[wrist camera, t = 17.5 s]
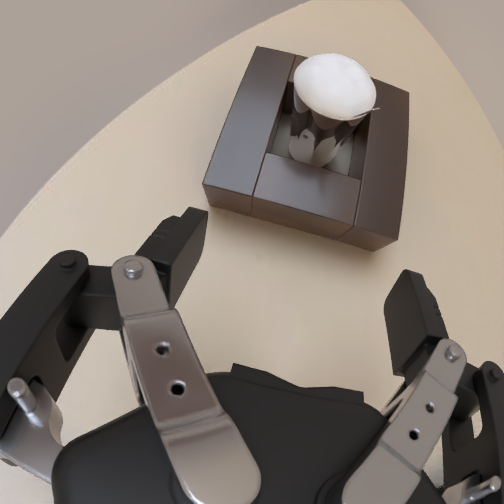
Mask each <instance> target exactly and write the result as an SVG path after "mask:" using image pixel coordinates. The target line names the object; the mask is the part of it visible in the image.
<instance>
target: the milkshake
mask: <svg viewBox="0 0 504 504" xmlns="http://www.w3.org/2000/svg"><path fill="white" fill-rule="evenodd" d="M375 100H376V89H375V86H374V83H373V82H372V80H371V78H370V76H369V75H368V73H367V72H366V71H365V69H364V68H363V67H362V66H361V65H360V64H359V63H357V62H356V61H354V60H353V59H351V58H348V57H346V56H343V55H340V54H336V53H329V54H319V55H315V56H312V57H310V58H308V59H306V60H305V61H303V62H302V63H301V64H300V65H299V66H298V67H297V69H296V71H295V73H294V92H293V112H292V123H291V132H290V142H289V152H290V154H291V156H292V159H293V160H296V161H300V162H303V163H307V164H310V165H314V166H317V167H320V168H322V167H323V166H325V165H326V164H328V163H329V162H330V161H331V160H332V158H333V157H334V156H335V154H336V153H337V152H338V150H339V149H340V148H341V147H342V145H343V144H344V143H345V141H346V140H347V139H348V137H349V136H350V135H351V133H352V132H353V131H354V129H355V128H356V127H357V126H358V125H359V123H360V122H361V121H362V120H363V119H364V117H365V116H366V115H367V114H368V113H369V112H372V111H375V110H378V109H380V108H375V109H372V108H373V106H374V104H375ZM371 109H372V110H371Z"/></svg>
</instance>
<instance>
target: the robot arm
mask: <svg viewBox="0 0 504 504" xmlns="http://www.w3.org/2000/svg"><path fill="white" fill-rule="evenodd" d="M207 221H208V211H204V210H201V209H197V208H193V207H188V209H187V210H186V211H185V212H184V214H183V215H182V216H181V217H177V216H174V215H173V216H171V217H169V218H167V219H165V220H163V221H162V222H161V223H160V224H159V226H158V227H157V229H155V230H154V232H153V233H152V235H150V236H149V238H148V239H147V240H146V241H145V242H144V244H143V245H142V246H141V247H140V249H139V250H138V251H137V252H136V254H135V255H130V256H125V257H122V258H120V259H118V260H117V261H116V262H115V263H114V264H113V266H111V267H107V266H93V265H89V263H88V258H87V256H86V255H85V254H84V253H82V252H80V251H76V250H66V251H62V252H60V253H58V254H56V255H54V256H53V257H52V258H51V259H50V260H49V261H48V263H47V264H46V265H45V266H44V267H43V268H42V269H41V270H40V272H39V273H38V274H37V275H36V276H35V277H34V279H33V280H32V281H31V282H30V283H29V284H28V286H27V287H26V288H25V289H24V291H23V292H22V293H21V294H20V295H19V297H18V298H17V299H16V300H15V302H14V303H13V304H12V305H11V307H10V308H9V309H8V311H7V312H6V313H5V314H4V316H3V317H2V318H1V320H0V459H1V460H2V461H4V462H5V463H7V464H9V465H11V466H19V467H21V468H23V469H24V470H26V471H28V472H29V473H31V474H33V475H35V476H36V477H38V478H40V479H42V480H43V481H45V482H47V483H49V484H51V485H52V491H53V497H54V504H504V373H503V371H502V370H501V369H500V367H499V366H498V365H497V364H495V363H494V362H491V361H486V362H484V363H483V364H482V365H481V366H480V367H479V368H477V367H475V366H473V365H471V364H469V363H467V358H466V354H465V352H464V350H463V349H462V348H461V346H460V345H459V344H457V343H456V342H455V341H453V340H451V339H449V337H448V334H447V331H446V327H445V324H444V321H443V318H442V317H441V313H440V310H439V309H438V308H439V307H438V304H437V301H436V298H435V297H434V296H433V294H432V293H431V291H430V290H429V289H428V288H427V286H426V284H425V281H424V278H423V276H422V274H419V273H416V272H413V271H410V270H407V269H405V270H403V271H402V273H401V274H400V276H399V278H398V279H397V281H396V283H395V284H394V286H393V288H392V290H391V291H390V293H389V295H388V296H387V298H386V301H385V304H384V316H385V321H386V327H387V333H388V340H389V346H390V353H391V360H392V368H393V375H396V376H402V377H405V381H404V382H403V383H402V384H401V385H400V386H399V387H398V389H397V390H396V392H395V393H394V394H393V396H392V397H391V398H390V400H389V401H388V402H387V404H386V405H385V406H384V407H383V409H382V410H381V411H380V412H379V411H378V410H376V409H375V408H373V407H372V406H370V405H368V404H366V403H364V395H363V392H361V391H355V390H349V389H344V388H338V387H309V388H303V387H298V386H296V385H294V384H292V383H289V382H287V381H285V380H283V379H281V378H279V377H277V376H275V375H273V374H271V373H268V372H266V371H262V370H258V369H254V368H250V367H247V366H243V365H239V364H236V363H233V366H232V369H231V372H214V373H208V374H205V372H204V369H203V367H202V365H201V363H200V361H199V358H198V356H197V354H196V352H195V350H194V347H193V345H192V343H191V340H190V338H189V336H188V333H187V331H186V329H185V326H184V324H183V322H182V319H181V317H180V315H179V312H178V311H177V309H176V308H174V307H175V305H176V303H177V301H178V299H179V297H180V295H181V293H182V291H183V289H184V288H185V286H186V284H187V282H188V280H189V278H190V276H191V274H192V273H193V271H194V269H195V267H196V265H197V263H198V261H199V259H200V257H201V254H202V251H203V246H204V240H205V234H206V227H207ZM95 329H106V330H117V331H119V334H120V338H121V342H122V346H123V350H124V354H125V358H126V362H127V365H128V369H129V373H130V377H131V381H132V385H133V389H134V392H135V396H136V399H137V402H138V405H139V407H138V408H136V409H134V410H132V411H130V412H128V413H126V414H124V415H122V416H120V417H118V418H117V419H115V420H113V421H110V422H108V423H106V424H104V425H102V426H100V427H98V428H96V429H94V430H92V431H90V432H88V433H86V434H84V435H81V436H79V437H77V438H75V439H73V440H72V441H70V442H69V443H68V444H67V445H65V446H64V447H63V446H62V443H61V438H60V433H61V428H62V424H63V417H62V413H61V411H60V409H59V408H58V406H57V404H56V401H57V399H58V397H59V395H60V393H61V391H62V389H63V387H64V385H65V384H66V382H67V380H68V378H69V376H70V374H71V372H72V370H73V368H74V366H75V365H76V363H77V361H78V359H79V357H80V355H81V354H82V352H83V350H84V348H85V346H86V345H87V343H88V341H89V339H90V337H91V336H92V334H93V332H94V331H95ZM479 410H480V413H481V418H482V430H481V433H480V434H479V436H478V437H476V438H475V439H474V433H473V425H472V419H471V416H472V415H474V414H475V413H476V412H477V411H479ZM441 434H442V448H443V471H444V493H443V495H442V496H441V494H440V493H439V491H438V490H437V489H436V487H435V486H434V484H433V483H432V482H431V480H430V479H429V477H428V476H427V474H426V473H425V472H424V470H423V469H422V468H423V467H424V465H425V463H426V462H427V460H428V458H429V456H430V455H431V453H432V451H433V449H434V447H435V446H436V444H437V442H438V440H439V438H440V436H441Z"/></svg>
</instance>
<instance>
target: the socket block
mask: <svg viewBox="0 0 504 504" xmlns="http://www.w3.org/2000/svg"><path fill="white" fill-rule="evenodd" d="M306 59H308V57H304V56H300V55H295V54H292V53H287V52H283V51H279V50H274V49H269V48H264V47H259V46H257V47H256V49H255V51H254V53H253V56H252V58H251V60H250V62H249V65H248V67H247V69H246V72H245V74H244V76H243V79H242V81H241V84H240V86H239V88H238V91H237V93H236V96H235V98H234V101H233V103H232V106H231V108H230V111H229V113H228V116H227V118H226V121H225V123H224V126H223V128H222V131H221V134H220V136H219V139H218V142H217V144H216V147H215V150H214V152H213V155H212V158H211V160H210V163H209V166H208V169H207V171H206V174H205V177H204V180H203V183H202V185H203V188H204V191H205V194H206V196H207V199H208V202H209V205H210V206H214V207H218V208H221V209H225V210H229V211H233V212H236V213H240V214H244V215H248V216H252V217H255V218H258V219H262V220H266V221H269V222H273V223H276V224H280V225H284V226H287V227H291V228H294V229H298V230H301V231H305V232H308V233H312V234H315V235H319V236H322V237H326V238H329V239H332V240H337V241H340V242H343V243H346V244H350V245H353V246H356V247H360V248H363V249H366V250H370V251H373V252H374V251H376V250H378V249H380V248H382V247H384V246H387V245H389V244H391V243H393V242H395V241H397V240H398V236H399V229H400V222H401V214H402V206H403V197H404V188H405V177H406V165H407V151H408V131H409V92H407V91H404V90H402V89H399V88H397V87H395V86H392V85H390V84H387V83H384V82H382V81H379V80H377V79H374V78H372V77H370V78H371V80H372V82H373V83H374V86H375V89H376V100H375V104H374V106H373V108H372V109H375V108H380V109H378V110H375V111H372V112H369V113H368V114H367V115H366V116H365V117H364V119H363V120H362V121H361V122H360V123H359V125H358V126H357V127H356V128H355V129H354V131H353V132H352V133H354V134H355V138H354V145H353V151H352V157H351V163H350V169H349V174H348V176H346V175H343V174H340V173H337V172H333V171H330V170H327V169H324V168H320V167H317V166H314V165H310V164H307V163H303V162H300V161H296V160H293V159H289V158H286V157H282V156H278V155H274V154H271V153H270V151H271V147H272V144H273V141H274V137H275V134H276V131H277V127H278V124H279V121H280V117H281V114H282V112H283V113H287V114H291V115H292V112H293V92H294V73H295V71H296V69H297V67H298V66H299V65H300V64H301V63H302V62H303V61H305V60H306ZM372 109H371V110H372Z"/></svg>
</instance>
